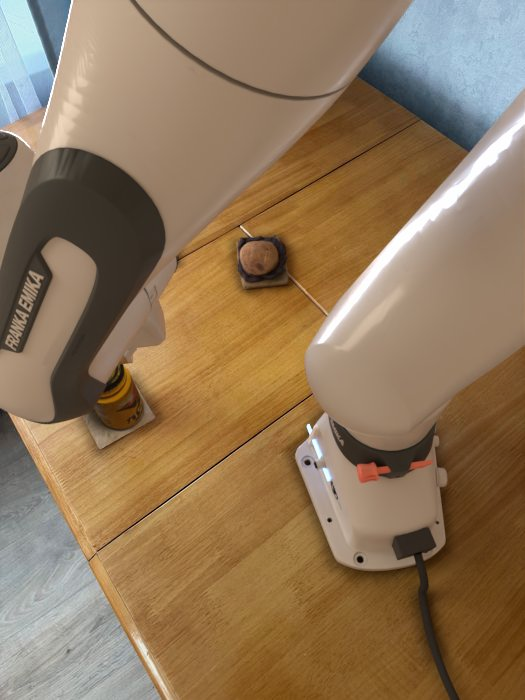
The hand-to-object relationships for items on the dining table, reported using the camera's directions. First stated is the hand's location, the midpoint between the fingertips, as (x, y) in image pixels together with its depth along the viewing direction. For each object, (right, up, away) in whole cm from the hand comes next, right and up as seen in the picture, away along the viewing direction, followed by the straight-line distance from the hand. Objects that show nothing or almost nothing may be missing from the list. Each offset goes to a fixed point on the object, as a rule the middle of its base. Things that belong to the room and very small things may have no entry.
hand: (86, 363), depth 62 cm
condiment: (0, -7, +12) cm, 14 cm away
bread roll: (+21, +16, +26) cm, 37 cm away
